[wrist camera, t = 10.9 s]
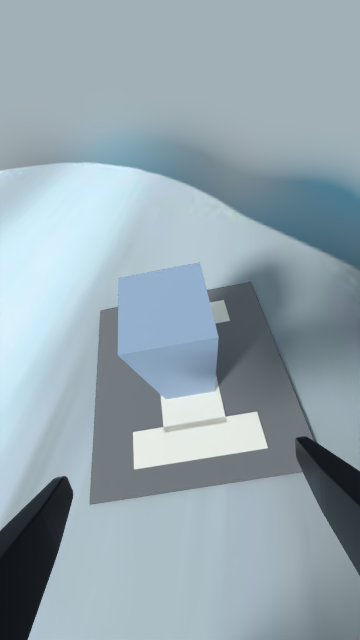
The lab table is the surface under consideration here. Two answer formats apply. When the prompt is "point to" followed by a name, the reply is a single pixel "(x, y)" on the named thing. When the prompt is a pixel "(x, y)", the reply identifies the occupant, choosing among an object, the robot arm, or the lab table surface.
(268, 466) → the letter mat
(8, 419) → the lab table surface
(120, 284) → the blue block
